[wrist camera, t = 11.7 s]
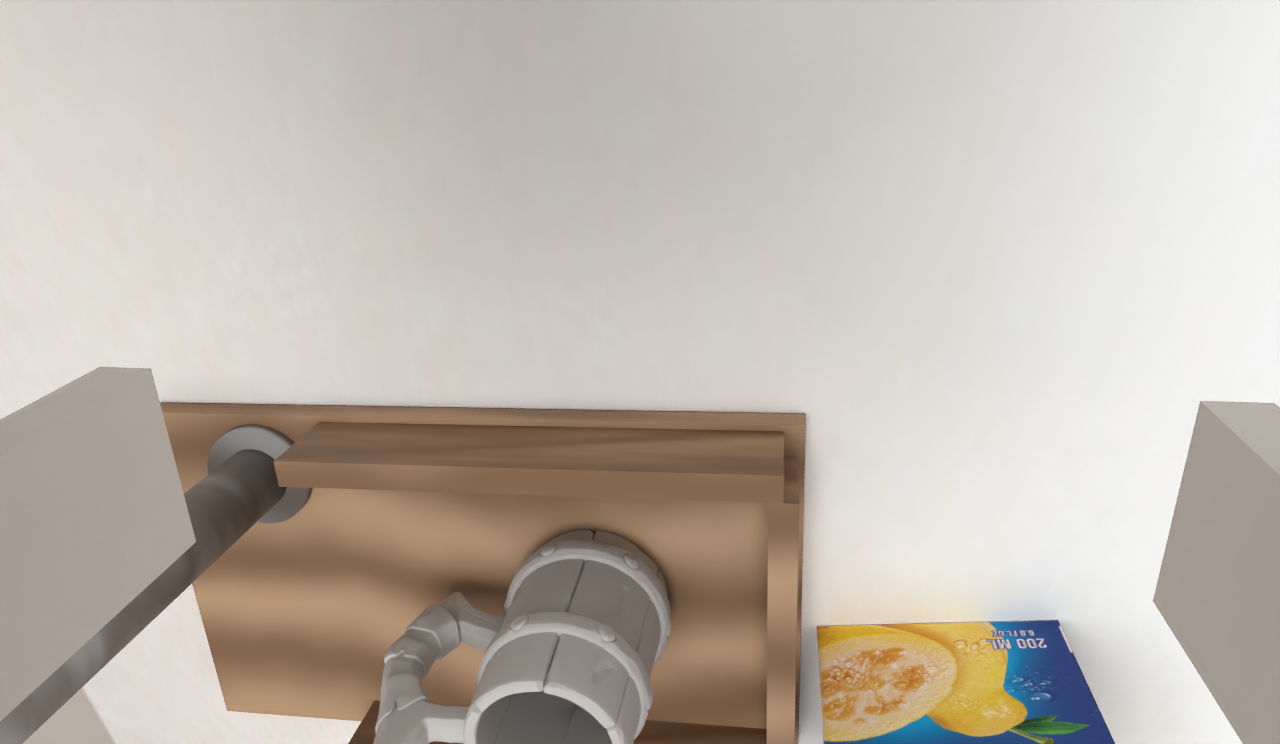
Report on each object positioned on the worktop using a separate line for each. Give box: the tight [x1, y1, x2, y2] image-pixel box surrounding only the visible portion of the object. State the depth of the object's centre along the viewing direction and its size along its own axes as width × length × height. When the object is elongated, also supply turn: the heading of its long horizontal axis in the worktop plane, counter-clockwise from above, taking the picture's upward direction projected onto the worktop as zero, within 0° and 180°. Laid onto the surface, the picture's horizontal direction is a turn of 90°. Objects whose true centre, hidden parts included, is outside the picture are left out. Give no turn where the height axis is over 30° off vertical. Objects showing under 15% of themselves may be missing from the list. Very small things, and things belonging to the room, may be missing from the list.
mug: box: [373, 530, 672, 744], centre depth 36 cm, size 8×12×12 cm, turn 92°
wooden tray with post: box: [0, 403, 806, 744], centre depth 36 cm, size 18×31×17 cm, turn 93°
